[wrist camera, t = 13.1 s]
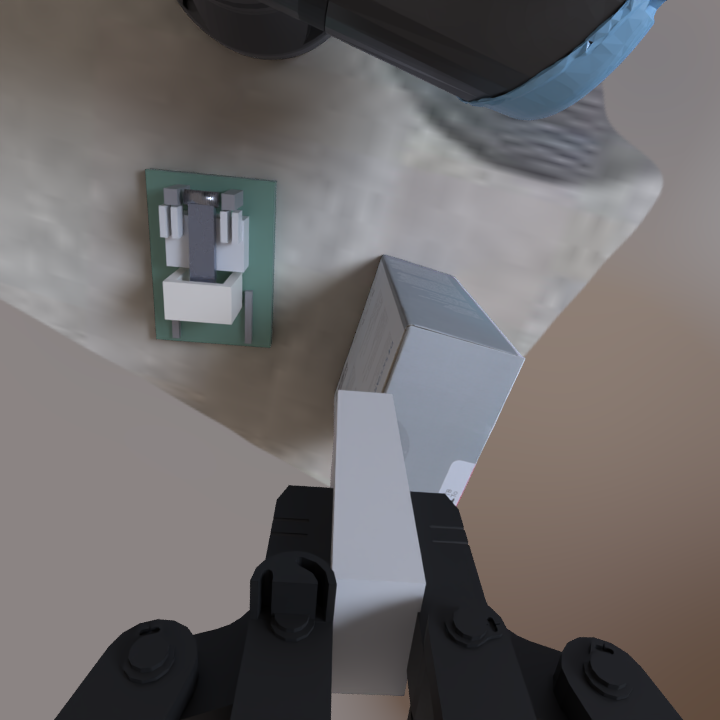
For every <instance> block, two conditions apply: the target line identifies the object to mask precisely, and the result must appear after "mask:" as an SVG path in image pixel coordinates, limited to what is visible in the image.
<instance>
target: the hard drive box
mask: <svg viewBox="0 0 720 720" xmlns="http://www.w3.org/2000/svg"><path fill="white" fill-rule="evenodd" d="M524 360H525V358H524V357H523V356H522V355H521V354H520V353H519V352H518V351H517V349H516V348H515V347H514V346H513V345H512V343H511V342H510V341H509V340H508V339H507V337H506V336H505V335H504V334H503V333H502V332H501V330H500V329H499V328H498V327H497V326H496V324H495V323H494V322H493V321H492V320H491V319H490V317H489V316H488V315H487V314H486V313H485V312H484V310H483V309H482V308H481V307H480V306H479V304H478V303H477V302H476V301H475V300H474V299H473V297H472V296H471V295H470V294H469V293H468V292H467V290H466V289H465V288H464V287H463V286H462V285H461V283H460V282H459V281H458V280H457V279H456V277H454V276H451V275H448V274H445V273H442V272H439V271H436V270H433V269H430V268H427V267H423V266H420V265H417V264H414V263H411V262H408V261H405V260H402V259H398V258H395V257H391V256H388V255H383V256H382V258H381V260H380V263H379V266H378V269H377V272H376V276H375V279H374V281H373V284H372V287H371V290H370V293H369V296H368V299H367V302H366V305H365V308H364V311H363V313H362V316H361V319H360V322H359V325H358V328H357V331H356V333H355V336H354V339H353V342H352V345H351V348H350V351H349V354H348V357H347V359H346V362H345V365H344V368H343V371H342V374H341V377H340V380H339V383H338V386H337V389H336V392H335V395H334V432H335V420H336V409H337V397H338V390H346V391H359V392H373V393H386V394H392V395H393V400H394V406H395V412H396V417H397V423H398V428H399V434H400V440H401V445H402V451H403V457H404V462H405V468H406V474H407V479H408V485H409V491H413V492H429V493H445V494H446V495H447V497H448V498H449V499H450V500H451V501H452V502H453V504H454V505H455V506H456V507H457V505H458V502H459V500H460V498H461V496H462V494H463V492H464V489H465V487H466V485H467V483H468V481H469V479H470V476H471V474H472V472H473V470H474V468H475V465H476V463H477V460H478V458H479V456H480V454H481V452H482V450H483V448H484V445H485V443H486V441H487V439H488V437H489V435H490V433H491V431H492V429H493V427H494V425H495V423H496V420H497V419H498V416H499V414H500V412H501V410H502V407H503V405H504V403H505V401H506V399H507V397H508V395H509V392H510V390H511V388H512V386H513V384H514V382H515V380H516V378H517V375H518V373H519V371H520V369H521V367H522V365H523V363H524Z"/></svg>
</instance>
